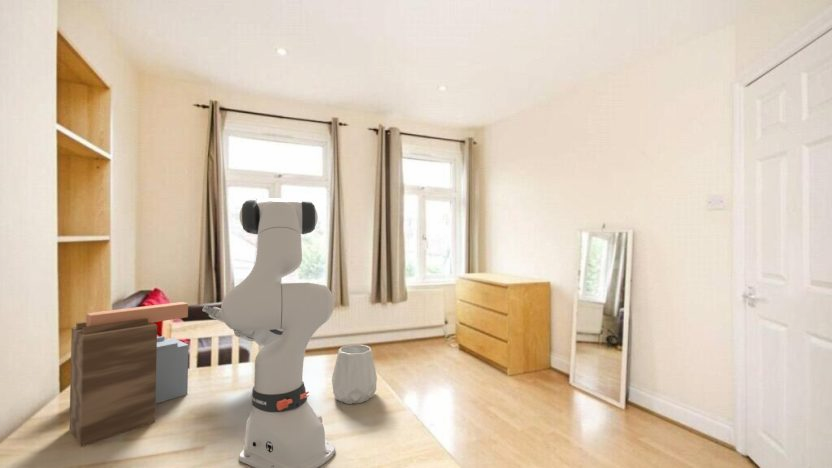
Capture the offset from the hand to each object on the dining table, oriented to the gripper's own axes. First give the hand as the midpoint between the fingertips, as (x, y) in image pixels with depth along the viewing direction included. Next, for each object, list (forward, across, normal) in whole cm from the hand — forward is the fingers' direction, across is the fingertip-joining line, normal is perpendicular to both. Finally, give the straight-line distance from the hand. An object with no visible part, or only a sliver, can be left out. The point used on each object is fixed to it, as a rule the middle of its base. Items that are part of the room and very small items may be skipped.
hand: (210, 310), depth 116 cm
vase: (-38, +36, +8) cm, 53 cm away
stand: (+8, +1, +35) cm, 36 cm away
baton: (+16, 0, +10) cm, 18 cm away
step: (-5, -11, +28) cm, 30 cm away
